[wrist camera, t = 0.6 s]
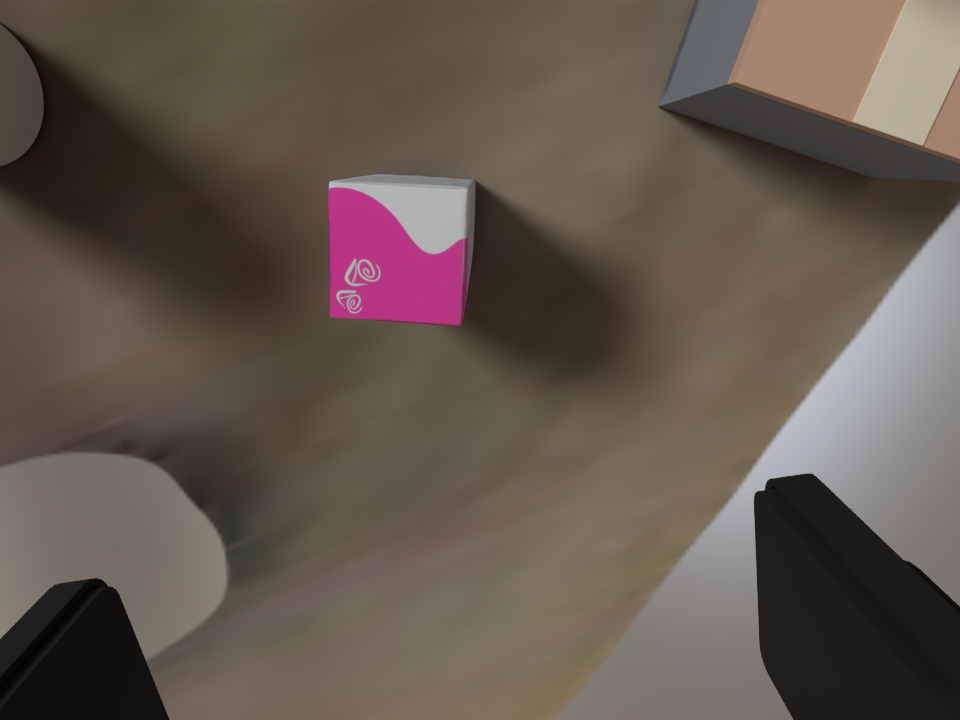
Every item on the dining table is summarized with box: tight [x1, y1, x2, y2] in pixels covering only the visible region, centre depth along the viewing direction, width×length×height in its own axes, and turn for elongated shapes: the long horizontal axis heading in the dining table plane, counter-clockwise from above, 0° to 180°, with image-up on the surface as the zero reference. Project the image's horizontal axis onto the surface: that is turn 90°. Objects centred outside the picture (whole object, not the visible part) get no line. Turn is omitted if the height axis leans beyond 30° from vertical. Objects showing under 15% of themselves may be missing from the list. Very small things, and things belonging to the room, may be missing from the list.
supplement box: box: [329, 174, 476, 327], centre depth 32 cm, size 6×6×12 cm
